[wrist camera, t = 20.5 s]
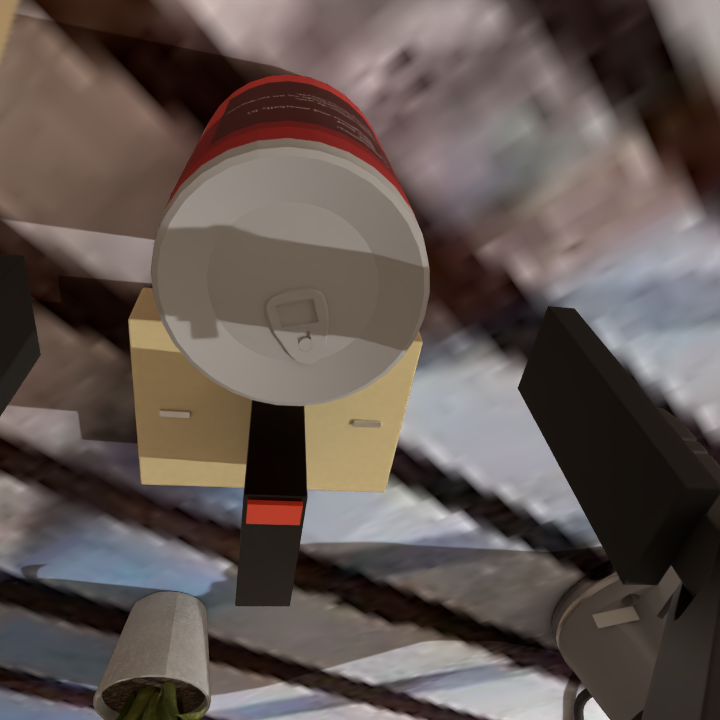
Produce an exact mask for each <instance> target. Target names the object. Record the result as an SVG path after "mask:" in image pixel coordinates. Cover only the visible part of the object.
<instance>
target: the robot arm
mask: <svg viewBox="0 0 720 720" xmlns="http://www.w3.org/2000/svg"><path fill="white" fill-rule="evenodd" d="M40 355H41V353H40V348H39V342H38V336H37V330H36V325H35V319H34V313H33V307H32V302H31V296H30V290H29V285H28V279H27V273H26V267H25V262H24V256H17V255H6V254H0V416H1V414H2V413H3V411H4V410H5V408H6V407H7V405H8V404H9V402H10V401H11V399H12V398H13V396H14V395H15V393H16V392H17V390H18V389H19V387H20V386H21V384H22V382H23V381H24V379H25V378H26V376H27V375H28V373H29V372H30V370H31V369H32V367H33V366H34V364H35V363H36V361H37V360H38V358H39V357H40ZM518 390H519V391H520V393H521V395H522V397H523V399H524V401H525V403H526V405H527V406H528V408H529V410H530V412H531V414H532V416H533V418H534V419H535V421H536V423H537V425H538V427H539V429H540V431H541V433H542V434H543V436H544V438H545V440H546V442H547V444H548V446H549V447H550V449H551V451H552V453H553V455H554V457H555V459H556V461H557V462H558V464H559V466H560V468H561V470H562V472H563V474H564V476H565V477H566V479H567V481H568V483H569V485H570V487H571V489H572V490H573V492H574V494H575V496H576V498H577V500H578V502H579V504H580V505H581V507H582V509H583V511H584V513H585V515H586V517H587V518H588V520H589V522H590V524H591V526H592V528H593V530H594V532H595V533H596V535H597V537H598V539H599V541H600V543H601V545H602V546H603V548H604V550H605V552H606V554H607V556H608V558H609V560H610V561H611V563H610V564H608V565H606V566H604V567H602V568H600V569H598V570H597V571H595V572H593V573H592V574H590V575H589V576H587V577H586V578H584V579H583V580H582V581H580V582H579V583H578V584H577V585H575V586H574V587H573V588H572V589H571V590H570V591H569V592H568V593H567V594H566V595H565V596H564V598H563V599H562V600H561V601H560V603H559V604H558V606H557V608H556V610H555V612H554V614H553V617H552V623H551V628H552V633H553V635H554V638H555V641H556V643H557V646H558V648H559V651H560V653H561V655H562V656H563V658H564V660H565V662H566V663H567V665H568V666H569V667H570V669H571V670H573V671H574V672H575V673H576V675H577V676H578V678H579V679H580V680H581V682H582V683H583V685H584V686H585V687H586V688H585V689H584V690H583V691H582V692H581V693H580V694H579V695H578V696H577V698H576V700H575V704H574V719H575V720H584V716H583V709H584V706H585V704H586V702H587V701H588V700H589V699H590V698H592V697H593V698H594V699H595V701H596V702H597V703H598V705H599V706H600V707H601V708H602V710H603V711H604V712H605V714H606V715H607V716H608V717H609V719H610V720H720V465H719V464H718V463H717V462H716V461H715V460H714V458H713V457H712V456H708V451H707V450H706V449H705V448H704V447H703V446H702V444H701V443H700V442H697V439H696V437H695V436H694V435H693V434H692V433H691V432H690V430H689V429H688V428H687V427H686V426H685V425H684V424H683V423H682V422H681V421H680V420H678V419H677V418H675V417H674V416H673V415H671V414H670V413H669V412H667V411H666V410H665V409H663V408H656V407H655V405H654V404H653V403H652V402H651V401H650V399H649V398H648V397H647V396H646V395H645V393H644V392H643V391H642V390H641V388H640V387H639V386H638V385H637V384H636V382H635V381H634V380H633V379H632V378H631V376H630V375H629V374H628V373H627V372H626V370H625V369H624V368H623V367H622V366H621V364H620V363H619V362H618V361H617V359H616V358H615V357H614V356H613V355H612V353H611V352H610V351H609V350H608V349H607V347H606V346H605V345H604V344H603V343H602V341H601V340H600V339H599V338H598V337H597V335H596V334H595V333H594V332H593V331H592V329H591V328H590V327H589V326H588V324H587V323H586V322H585V321H584V320H583V318H582V317H581V316H580V315H579V314H578V312H577V311H576V310H575V309H573V308H562V307H552V306H548V308H547V311H546V313H545V316H544V319H543V321H542V324H541V327H540V330H539V332H538V335H537V338H536V340H535V343H534V346H533V348H532V351H531V354H530V357H529V359H528V362H527V365H526V367H525V370H524V373H523V375H522V378H521V381H520V384H519V386H518Z"/></svg>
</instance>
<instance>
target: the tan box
mask: <svg viewBox="0 0 720 720" xmlns="http://www.w3.org/2000/svg"><path fill="white" fill-rule="evenodd" d="M128 325H129V338H130V350H131V363H132V376H133V389H134V402H135V415H136V427H137V440H138V453H139V466H140V479H141V484H149V485H179V486H209V487H239V488H244V485H245V474H246V462H247V450H248V439H249V427H250V416H251V404H252V400H251V399H249V398H246V397H243V396H241V395H238V394H236V393H233V392H231V391H228V390H227V389H225V388H223V387H222V386H220V385H218V384H217V383H215V382H213V381H212V380H210V379H208V378H207V377H206V376H205V375H203V374H202V373H201V372H200V371H199V370H198V369H196V368H195V367H194V366H193V365H192V364H190V363H189V362H188V360H187V359H186V358H185V357H184V356H183V354H182V353H181V352H180V351H179V349H178V348H177V347H176V346H175V345H174V343H173V342H172V340H171V338H170V336H169V334H168V333H167V331H166V329H165V327H164V325H163V323H162V322H161V319H160V316H159V313H158V310H157V306H156V303H155V300H154V297H153V288H145V287H144V288H142V290H141V292H140V294H139V297H138V299H137V301H136V303H135V306H134V308H133V310H132V312H131V315H130V317H129V319H128ZM421 347H422V339H421V336H420V334H419V331H418V334H417V336H416V338H415V340H414V341H413V343H412V344H411V346H410V347H409V349H408V350H407V352H406V353H405V354H404V356H403V357H402V359H401V360H400V361H399V362H398V363H397V364H396V365H395V366H394V367H393V368H392V369H391V370H390V371H389V372H388V373H387V374H386V375H384V376H383V377H381V378H380V379H378V380H377V381H375V382H374V383H373V384H371V385H370V386H368V387H367V388H365V389H363V390H360V391H358V392H356V393H354V394H352V395H350V396H347V397H345V398H341V399H338V400H334V401H331V402H327V403H323V404H315V405H305V406H304V407H305V437H306V468H307V490H330V491H360V492H385V490H386V486H387V482H388V478H389V474H390V470H391V466H392V462H393V458H394V454H395V450H396V446H397V442H398V438H399V434H400V430H401V426H402V422H403V418H404V414H405V410H406V406H407V402H408V399H409V395H410V391H411V387H412V383H413V379H414V375H415V371H416V367H417V363H418V359H419V355H420V351H421Z"/></svg>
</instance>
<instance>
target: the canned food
mask: <svg viewBox="0 0 720 720" xmlns="http://www.w3.org/2000/svg"><path fill="white" fill-rule="evenodd" d="M151 277H152V288H153V297H154V300H155V303H156V306H157V310H158V313H159V316H160V319H161V322H162V323H163V325H164V327H165V329H166V331H167V333H168V334H169V336H170V338H171V340H172V342H173V343H174V345H175V346H176V347H177V348H178V349H179V351H180V352H181V353H182V354H183V356H184V357H185V358H186V359H187V360H188V362H189V363H190V364H192V365H193V366H194V367H195V368H196V369H198V370H199V371H200V372H201V373H202V374H203V375H205V376H206V377H207V378H208V379H210V380H212V381H213V382H215V383H217V384H218V385H220V386H222V387H223V388H225V389H227V390H228V391H231V392H233V393H236V394H238V395H241V396H243V397H246V398H249V399H251V400H255V401H260V402H264V403H269V404H274V405H287V406H305V405H315V404H323V403H327V402H331V401H334V400H338V399H341V398H345V397H347V396H350V395H352V394H354V393H356V392H358V391H360V390H363V389H365V388H367V387H368V386H370V385H371V384H373V383H374V382H375V381H377V380H378V379H380V378H381V377H383V376H384V375H386V374H387V373H388V372H389V371H390V370H391V369H392V368H393V367H394V366H395V365H396V364H397V363H398V362H399V361H400V360H401V359H402V357H403V356H404V354H405V353H406V352H407V350H408V349H409V347H410V346H411V344H412V343H413V341H414V340H415V338H416V336H417V334H418V331H419V329H420V327H421V324H422V322H423V320H424V317H425V313H426V308H427V303H428V298H429V293H430V286H429V264H428V258H427V253H426V249H425V244H424V239H423V234H422V232H421V230H420V227H419V225H418V223H417V220H416V218H415V215H414V213H413V211H412V209H411V206H410V204H409V202H408V200H407V197H406V195H405V193H404V191H403V189H402V187H401V185H400V183H399V181H398V179H397V177H396V175H395V173H394V171H393V169H392V167H391V165H390V163H389V161H388V159H387V157H386V155H385V153H384V151H383V149H382V147H381V145H380V143H379V141H378V139H377V137H376V135H375V133H374V131H373V129H372V127H371V125H370V124H369V122H368V121H367V120H366V118H365V117H364V115H363V114H362V112H361V111H360V109H359V108H358V107H356V106H355V105H354V104H353V103H352V102H351V101H350V100H349V99H348V98H347V97H346V96H345V95H344V94H342V93H340V92H339V91H337V90H336V89H334V88H333V87H331V86H329V85H328V84H325V83H323V82H320V81H317V80H315V79H312V78H309V77H303V76H296V75H277V76H268V77H265V78H262V79H259V80H256V81H252V82H250V83H248V84H246V85H245V86H243V87H241V88H240V89H238V90H236V91H235V92H233V93H232V94H231V95H230V96H229V97H228V98H227V99H226V100H225V101H224V102H223V103H222V104H221V105H220V106H219V107H218V109H217V110H216V112H215V113H214V115H213V117H212V118H211V120H210V121H209V123H208V125H207V127H206V128H205V130H204V132H203V134H202V136H201V138H200V140H199V142H198V144H197V146H196V148H195V150H194V152H193V154H192V156H191V157H190V159H189V161H188V163H187V165H186V167H185V169H184V171H183V173H182V175H181V177H180V179H179V181H178V183H177V184H176V186H175V188H174V190H173V192H172V194H171V197H170V200H169V202H168V204H167V206H166V208H165V211H164V214H163V216H162V219H161V222H160V224H159V227H158V230H157V232H156V237H155V243H154V250H153V257H152V265H151Z"/></svg>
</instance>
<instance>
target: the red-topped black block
mask: <svg viewBox="0 0 720 720" xmlns="http://www.w3.org/2000/svg"><path fill="white" fill-rule="evenodd" d="M306 503H307V468H306V437H305V407H304V406H287V405H274V404H269V403H264V402H260V401H255V400H252V404H251V416H250V427H249V439H248V450H247V462H246V474H245V485H244V497H243V510H242V523H241V536H240V549H239V563H238V576H237V589H236V602H235V605H236V606H290V601H291V595H292V589H293V583H294V577H295V570H296V564H297V558H298V552H299V546H300V540H301V534H302V528H303V521H304V515H305V509H306Z"/></svg>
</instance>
